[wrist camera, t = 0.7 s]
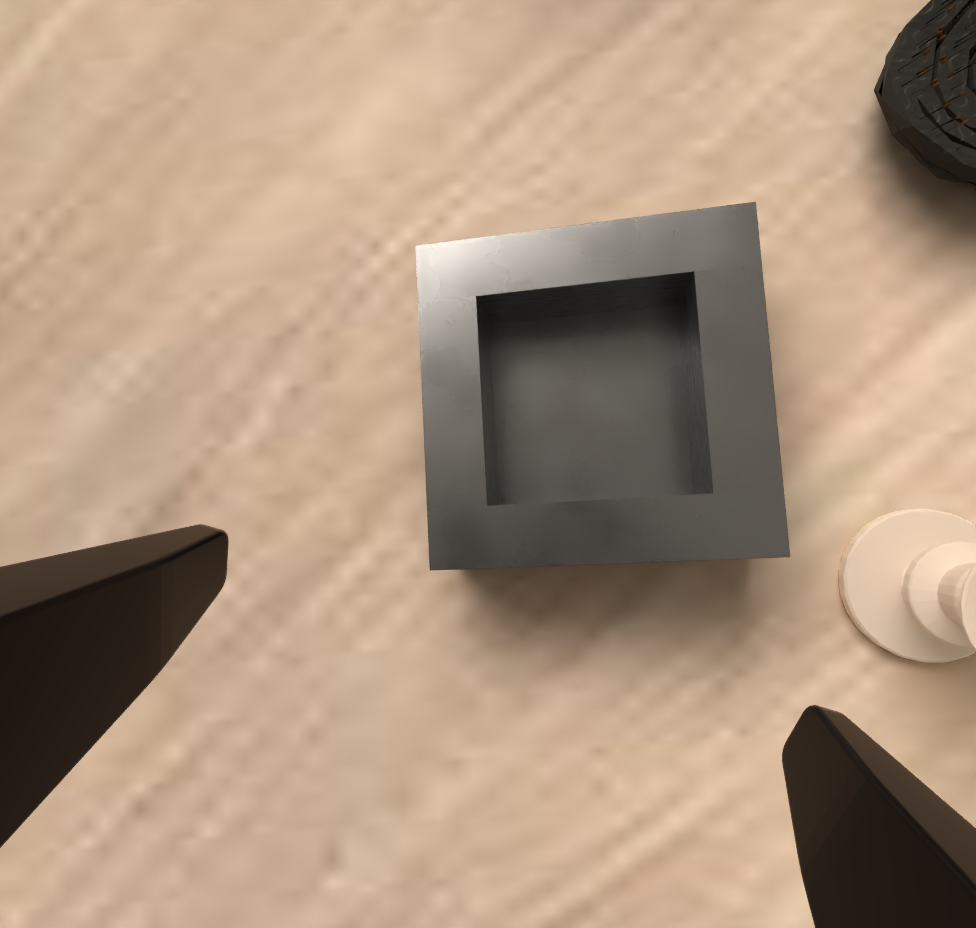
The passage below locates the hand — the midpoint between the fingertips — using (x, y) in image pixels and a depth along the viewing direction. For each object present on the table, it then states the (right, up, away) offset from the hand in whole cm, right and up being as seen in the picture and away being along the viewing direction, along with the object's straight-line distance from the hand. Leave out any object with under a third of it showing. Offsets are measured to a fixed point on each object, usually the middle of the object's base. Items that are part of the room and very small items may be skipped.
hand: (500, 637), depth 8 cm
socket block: (+4, +5, +13) cm, 15 cm away
